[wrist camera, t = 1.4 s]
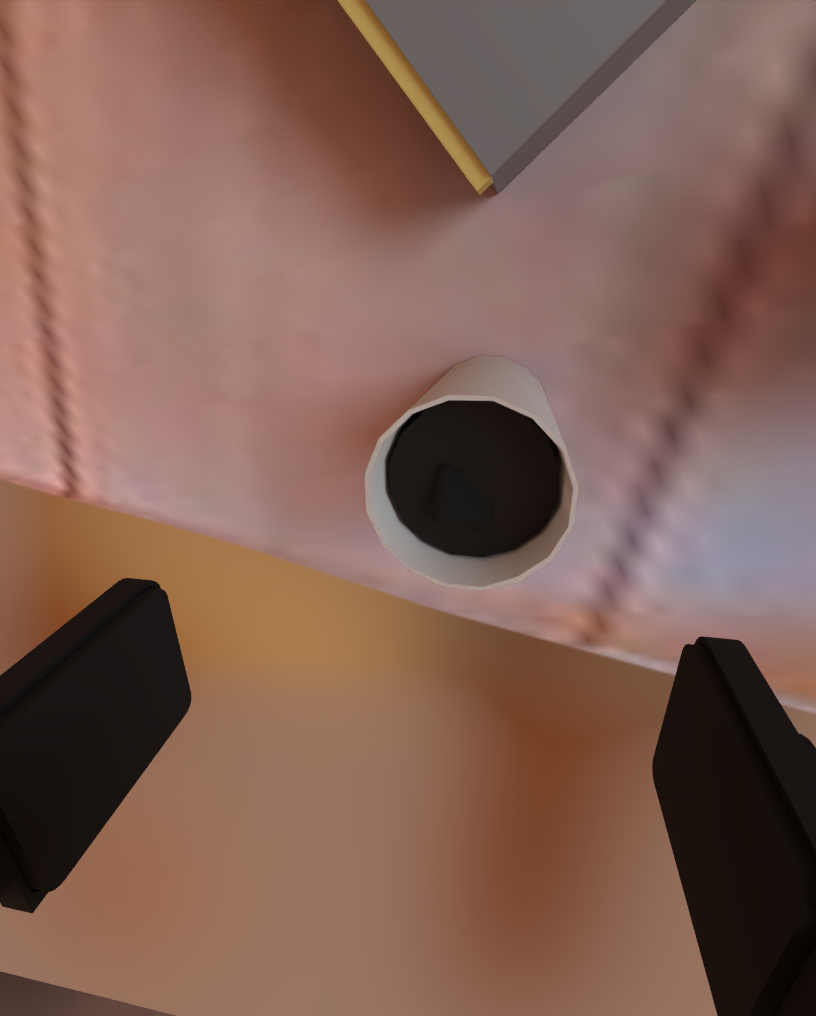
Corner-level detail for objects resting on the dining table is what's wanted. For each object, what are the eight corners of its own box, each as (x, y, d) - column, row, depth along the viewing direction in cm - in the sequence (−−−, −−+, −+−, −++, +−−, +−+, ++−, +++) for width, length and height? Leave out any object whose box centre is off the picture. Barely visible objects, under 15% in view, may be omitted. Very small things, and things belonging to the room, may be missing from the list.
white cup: (534, 495, 26) (540, 613, 17) (407, 463, 27) (350, 561, 18) (578, 363, 23) (613, 424, 14) (434, 330, 24) (381, 369, 15)
